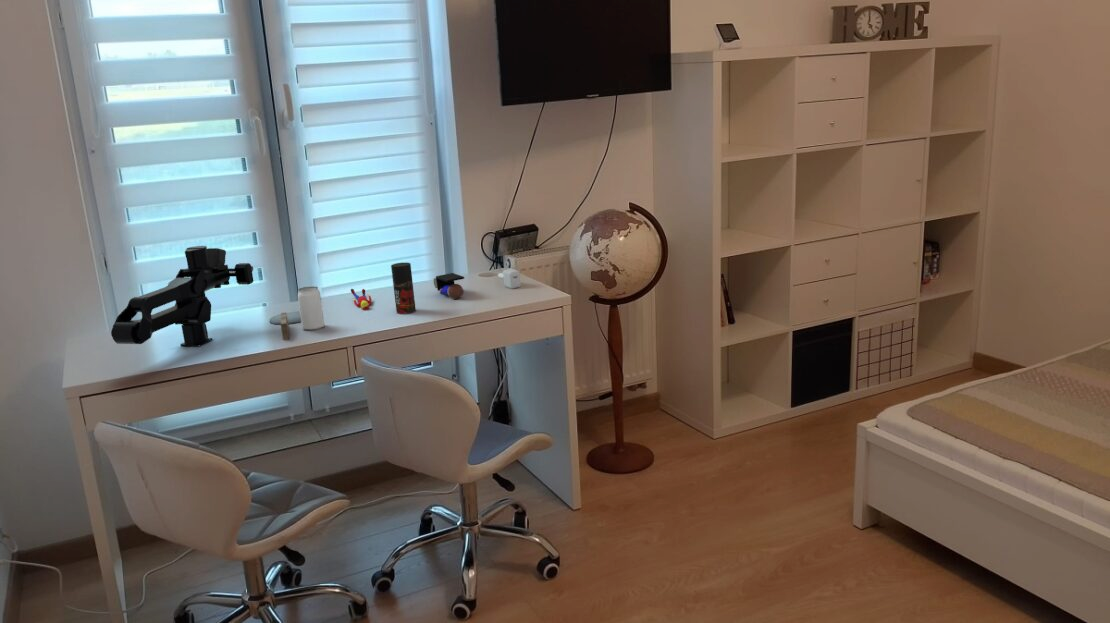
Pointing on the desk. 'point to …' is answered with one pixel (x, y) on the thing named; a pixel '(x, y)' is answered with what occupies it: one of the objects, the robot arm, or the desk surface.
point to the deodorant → (403, 288)
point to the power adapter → (510, 278)
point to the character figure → (362, 300)
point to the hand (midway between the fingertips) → (239, 268)
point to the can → (310, 308)
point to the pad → (291, 317)
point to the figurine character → (449, 285)
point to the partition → (284, 326)
